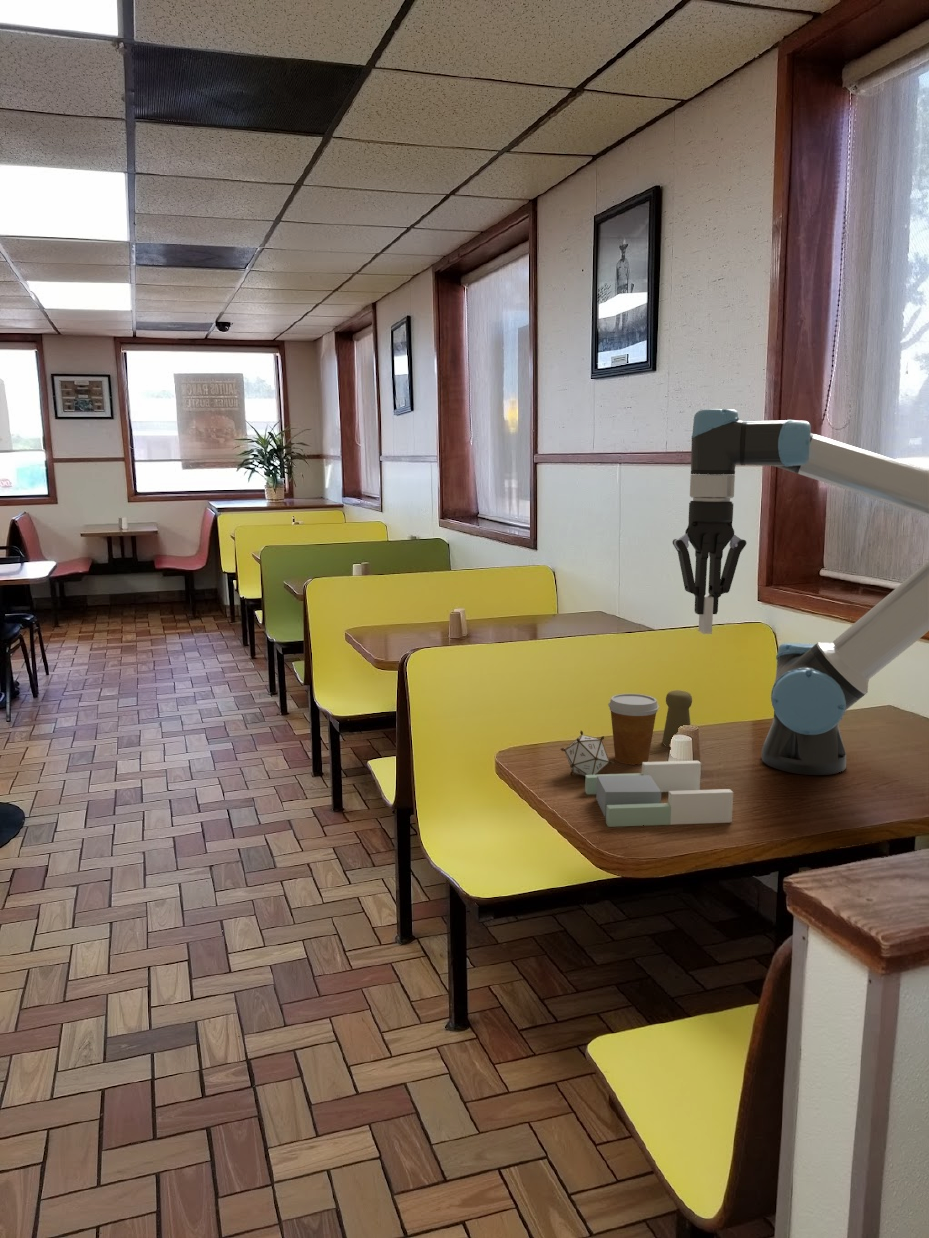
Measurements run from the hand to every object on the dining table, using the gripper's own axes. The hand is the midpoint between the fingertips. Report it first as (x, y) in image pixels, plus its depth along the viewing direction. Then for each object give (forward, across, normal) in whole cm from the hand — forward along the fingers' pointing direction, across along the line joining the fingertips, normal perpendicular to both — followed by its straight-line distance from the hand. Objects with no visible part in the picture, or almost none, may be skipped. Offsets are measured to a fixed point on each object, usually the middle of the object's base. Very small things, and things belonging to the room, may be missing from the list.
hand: (705, 632), depth 167 cm
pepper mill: (+27, -2, -18) cm, 32 cm away
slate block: (+27, +18, +16) cm, 36 cm away
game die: (+27, +21, 0) cm, 34 cm away
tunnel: (+26, +13, +16) cm, 33 cm away
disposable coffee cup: (+27, +10, -9) cm, 30 cm away
